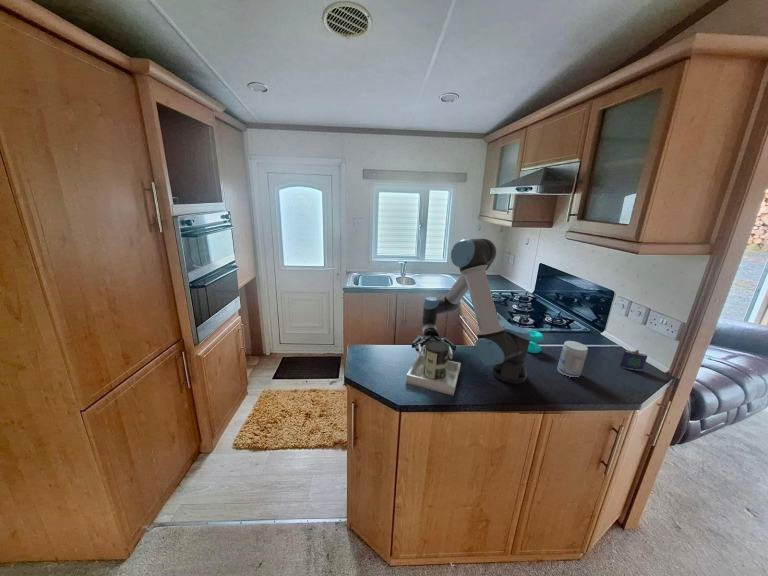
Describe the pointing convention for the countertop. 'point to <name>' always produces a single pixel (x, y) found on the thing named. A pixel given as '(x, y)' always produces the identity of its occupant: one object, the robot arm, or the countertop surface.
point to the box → (441, 386)
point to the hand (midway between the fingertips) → (435, 355)
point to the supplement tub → (572, 359)
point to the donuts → (535, 337)
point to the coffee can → (435, 360)
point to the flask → (633, 359)
